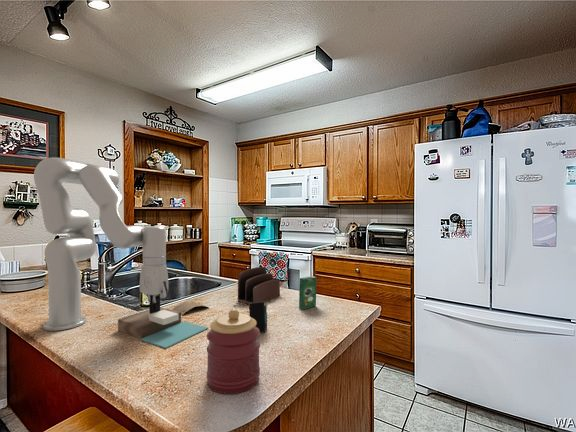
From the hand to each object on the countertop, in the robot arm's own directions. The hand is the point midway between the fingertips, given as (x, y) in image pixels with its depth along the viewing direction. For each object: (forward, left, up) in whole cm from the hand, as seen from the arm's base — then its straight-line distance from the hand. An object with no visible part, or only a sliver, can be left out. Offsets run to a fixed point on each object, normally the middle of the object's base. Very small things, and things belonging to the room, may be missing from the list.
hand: (154, 312), depth 109 cm
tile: (+5, -1, -2) cm, 6 cm away
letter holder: (+11, +49, -6) cm, 51 cm away
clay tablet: (-5, +21, -6) cm, 22 cm away
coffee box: (+37, +48, -6) cm, 61 cm away
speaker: (+32, +17, -6) cm, 37 cm away
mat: (+11, 0, -6) cm, 12 cm away
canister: (+45, -12, -6) cm, 47 cm away
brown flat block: (-2, 0, -6) cm, 6 cm away
